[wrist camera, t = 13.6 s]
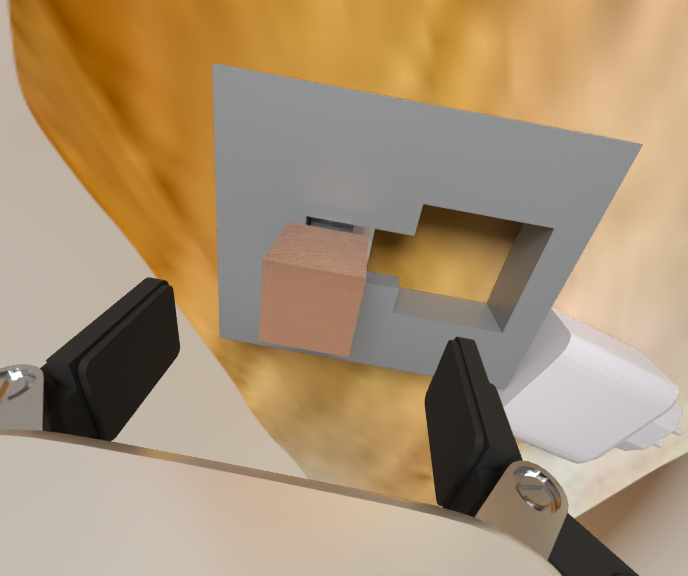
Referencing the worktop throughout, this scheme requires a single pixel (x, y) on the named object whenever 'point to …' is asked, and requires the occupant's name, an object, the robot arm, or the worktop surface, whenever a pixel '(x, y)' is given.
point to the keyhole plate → (402, 206)
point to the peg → (314, 285)
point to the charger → (588, 393)
